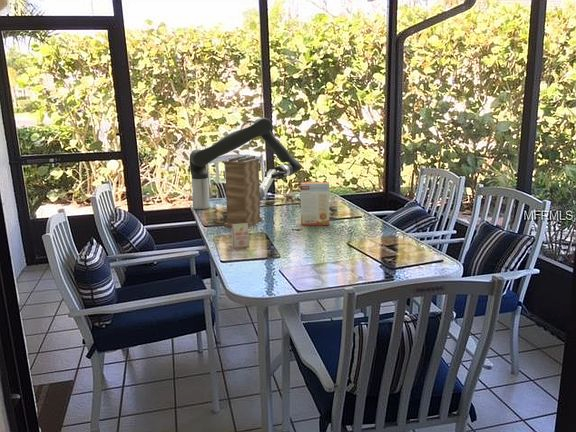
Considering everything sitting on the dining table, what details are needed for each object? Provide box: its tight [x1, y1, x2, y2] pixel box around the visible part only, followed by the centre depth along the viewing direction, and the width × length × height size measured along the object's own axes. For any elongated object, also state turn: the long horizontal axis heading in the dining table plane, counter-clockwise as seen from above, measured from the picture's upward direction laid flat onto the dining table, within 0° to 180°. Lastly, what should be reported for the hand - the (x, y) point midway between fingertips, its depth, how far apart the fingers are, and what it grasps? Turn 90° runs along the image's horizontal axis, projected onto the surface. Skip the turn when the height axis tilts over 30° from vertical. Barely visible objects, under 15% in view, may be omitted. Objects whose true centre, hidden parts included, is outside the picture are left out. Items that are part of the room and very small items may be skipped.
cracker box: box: [300, 181, 330, 226], centre depth 245 cm, size 14×6×21 cm, turn 84°
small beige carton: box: [230, 223, 250, 249], centre depth 210 cm, size 4×7×10 cm, turn 105°
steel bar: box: [259, 168, 276, 200], centre depth 270 cm, size 22×4×5 cm
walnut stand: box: [223, 155, 264, 229], centre depth 247 cm, size 18×12×33 cm, turn 157°
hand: (268, 176), depth 273 cm, fingers closed on steel bar, 3 cm apart
